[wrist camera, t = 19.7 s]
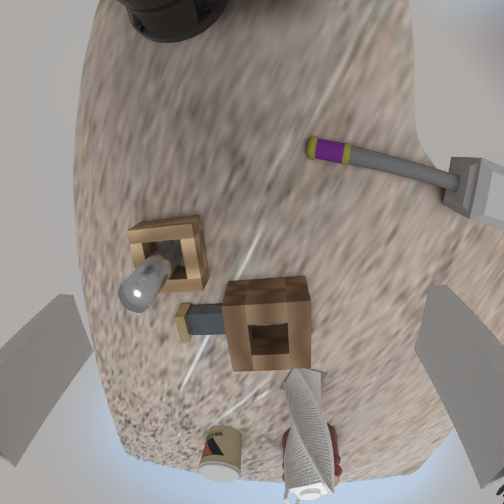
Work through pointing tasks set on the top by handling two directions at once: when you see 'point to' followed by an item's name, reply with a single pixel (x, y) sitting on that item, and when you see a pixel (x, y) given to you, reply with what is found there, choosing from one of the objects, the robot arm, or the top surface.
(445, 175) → the hammer
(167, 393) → the top surface
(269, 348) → the socket block
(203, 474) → the coffee cup
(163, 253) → the metal rod in cradle
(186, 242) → the wooden square frame
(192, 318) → the bar
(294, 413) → the skyscraper
